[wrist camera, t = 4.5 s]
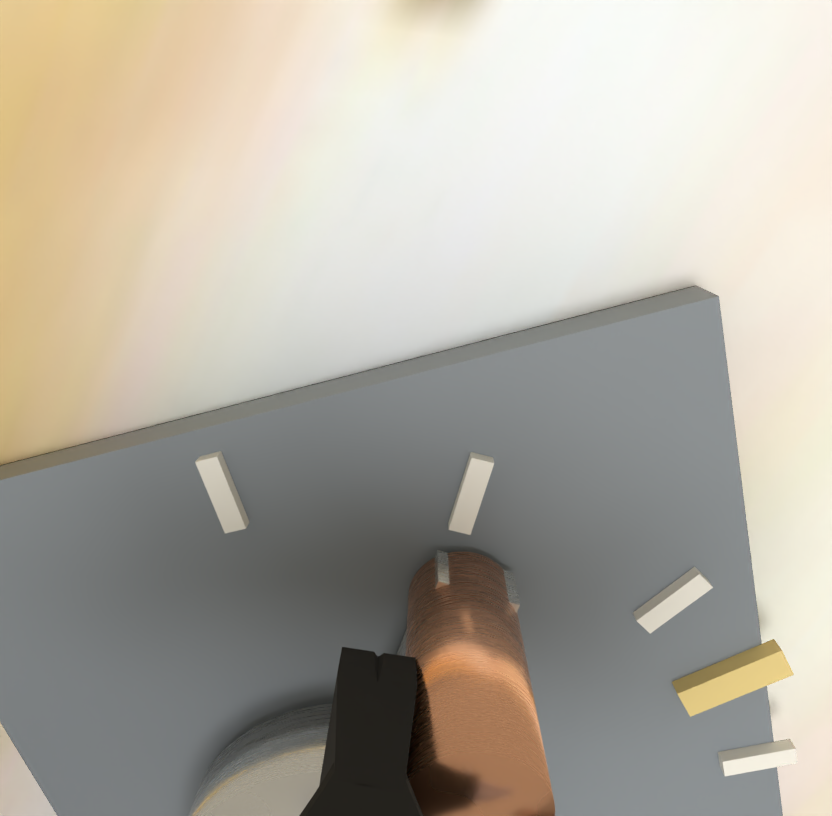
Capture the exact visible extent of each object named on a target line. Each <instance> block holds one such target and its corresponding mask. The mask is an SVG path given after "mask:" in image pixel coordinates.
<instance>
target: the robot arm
mask: <svg viewBox="0 0 832 816" xmlns="http://www.w3.org/2000/svg"><path fill="white" fill-rule="evenodd" d="M416 692H417V669H416V658H414V657H408V656H401V655H394V654H387V653H383V654H382V655H380V656H377V655H376V654H375V652H374V651H367V650H360V649H354V648H347V647H342V650H341V655H340V661H339V666H338V672H337V678H336V684H335V691H334V697H333V703H332V709H331V715H330V722H329V728H328V734H327V740H326V746H325V753H324V759H323V765H322V771H321V778H320V784H319V787H318V789H317V790H316V792H315V793H314V795H313V796H312V798H311V799H310V801H309V802H308V804H307V805H306V807H305V808H304V810H303V811H302V812H301V814H300V815H299V816H424V815H423V813H422V811H421V809H420V806H419V804H418V802H417V799H416V797H415V794H414V792H413V789H412V787H411V784H410V781H409V779H408V776H407V764H408V756H409V748H410V740H411V732H412V724H413V716H414V708H415V700H416Z"/></svg>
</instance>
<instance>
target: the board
mask: <svg viewBox="0 0 832 816" xmlns="http://www.w3.org/2000/svg"><path fill="white" fill-rule="evenodd" d="M438 550H439V551H443V552H446V553H450V552H472V553H477V554H480V555H483V556H486V557H487V558H489V559H491V560H493V561H494V562H496V563H497V564H498V565H499V566H500V567H502V569H503V570H507V571H510V572H513V573H514V578H515V583H516V588H517V593H518V598H519V603H520V606H519V608H518V611H517V613H518V618H519V623H520V629H521V634H522V639H523V644H524V649H525V654H526V659H527V664H528V670H529V675H530V680H531V685H532V690H533V695H534V700H535V706H536V711H537V716H538V721H539V726H540V731H541V736H542V741H543V747H544V752H545V757H546V762H547V767H548V772H549V777H550V783H551V788H552V793H553V798H554V803H555V816H783V814H782V806H781V798H780V790H779V782H778V773H777V767H780V766H785V765H791V764H796V763H797V755H796V748H795V746H794V745H793V743H792V742H791V740H790V739H786V740H781V741H775V742H774V741H773V733H772V725H771V717H770V709H769V700H768V692H767V685H770V684H772V683H775V682H777V681H779V680H782V679H784V678H787V677H789V676H792V675H794V674H793V672H792V670H791V668H790V666H789V664H788V662H787V660H786V658H785V656H784V654H783V652H782V650H781V648H780V647H779V646H778V644H777V643H776V641H775V640H774V639H773V640H770V641H768V642H766V643H763V644H761V635H760V627H759V619H758V611H757V603H756V595H755V587H754V579H753V571H752V562H751V554H750V546H749V538H748V530H747V522H746V514H745V506H744V498H743V489H742V481H741V473H740V465H739V457H738V449H737V441H736V433H735V425H734V416H733V408H732V400H731V392H730V384H729V376H728V368H727V360H726V352H725V343H724V335H723V327H722V319H721V311H720V303H719V296H717V295H715V294H713V293H711V292H709V291H706V290H704V289H702V288H700V287H698V286H693V287H690V288H686V289H682V290H678V291H674V292H670V293H666V294H662V295H659V296H655V297H651V298H647V299H643V300H639V301H635V302H632V303H628V304H624V305H620V306H616V307H612V308H608V309H604V310H601V311H597V312H593V313H589V314H585V315H581V316H577V317H574V318H570V319H566V320H562V321H558V322H554V323H550V324H546V325H543V326H539V327H535V328H531V329H527V330H523V331H519V332H516V333H512V334H508V335H504V336H500V337H496V338H492V339H488V340H485V341H481V342H477V343H473V344H469V345H465V346H461V347H457V348H454V349H450V350H446V351H442V352H438V353H434V354H430V355H427V356H423V357H419V358H415V359H411V360H407V361H403V362H399V363H396V364H392V365H388V366H384V367H380V368H376V369H372V370H369V371H365V372H361V373H357V374H353V375H349V376H345V377H341V378H338V379H334V380H330V381H326V382H322V383H318V384H314V385H311V386H307V387H303V388H299V389H295V390H291V391H287V392H283V393H280V394H276V395H272V396H268V397H264V398H260V399H256V400H253V401H249V402H245V403H241V404H237V405H233V406H229V407H225V408H222V409H218V410H214V411H210V412H206V413H202V414H198V415H194V416H191V417H187V418H183V419H179V420H175V421H171V422H167V423H164V424H160V425H156V426H152V427H148V428H144V429H140V430H136V431H133V432H129V433H125V434H121V435H117V436H113V437H109V438H106V439H102V440H98V441H94V442H90V443H86V444H82V445H78V446H75V447H71V448H67V449H63V450H59V451H55V452H51V453H48V454H44V455H40V456H36V457H32V458H28V459H24V460H20V461H17V462H13V463H9V464H5V465H1V466H0V722H1V724H2V725H3V727H4V729H5V730H6V732H7V734H8V735H9V737H10V739H11V740H12V742H13V744H14V745H15V747H16V748H17V750H18V752H19V753H20V755H21V757H22V758H23V760H24V762H25V763H26V765H27V766H28V768H29V770H30V771H31V773H32V775H33V776H34V778H35V780H36V781H37V783H38V784H39V786H40V788H41V789H42V791H43V793H44V794H45V796H46V798H47V799H48V801H49V803H50V804H51V806H52V807H53V809H54V811H55V812H56V814H57V816H188V815H189V812H190V810H191V807H192V804H193V802H194V799H195V796H196V794H197V791H198V788H199V786H200V783H201V781H202V778H203V777H204V775H205V773H206V772H207V770H208V768H209V767H210V765H211V763H212V762H213V761H214V760H215V759H216V758H217V756H218V755H219V754H220V753H221V752H222V751H223V749H224V748H226V747H227V746H228V745H229V744H230V743H232V742H233V741H234V740H235V739H236V738H237V737H239V736H240V735H242V734H243V733H245V732H246V731H248V730H250V729H251V728H253V727H254V726H256V725H258V724H260V723H262V722H264V721H267V720H269V719H271V718H273V717H275V716H278V715H281V714H284V713H287V712H290V711H293V710H297V709H301V708H306V707H311V706H316V705H323V704H332V703H333V697H334V691H335V684H336V678H337V672H338V666H339V661H340V655H341V650H342V647H347V648H354V649H360V650H367V651H374V652H375V654H376V655H377V656H380V655H382V654H383V653H387V654H394V655H397V652H398V650H399V647H400V644H401V642H402V639H403V637H404V634H405V632H406V629H407V614H408V594H409V587H410V584H411V581H412V579H413V577H414V576H415V574H416V573H417V571H418V570H419V569H420V568H421V567H422V566H423V565H424V564H425V563H427V562H428V561H430V560H431V559H433V558H435V556H436V553H437V551H438Z"/></svg>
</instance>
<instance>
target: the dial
mask: <svg viewBox="0 0 832 816" xmlns="http://www.w3.org/2000/svg"><path fill="white" fill-rule="evenodd" d="M519 606H520V603H519V598H518V593H517V588H516V583H515V578H514V573H513V572H510V571H507V570H503V569H502V567H500V566H499V565H498V564H497V563H496V562H494V561H493V560H491V559H489V558H487V557H486V556H483V555H480V554H477V553H472V552H450V553H446V552H443V551H439V550H438V551H437V553H436V556H435V558H433V559H431V560H430V561H428V562H427V563H425V564H424V565H423V566H422V567H421V568H420V569H419V570H418V571H417V573H416V574H415V576H414V577H413V579H412V581H411V584H410V587H409V594H408V614H407V629H406V632H405V634H404V637H403V639H402V642H401V644H400V647H399V650H398V652H397V655H401V656H408V657H414V658H416V669H417V692H416V700H415V708H414V716H413V724H412V732H411V740H410V748H409V756H408V764H407V776H408V779H409V781H410V784H411V787H412V789H413V792H414V794H415V797H416V799H417V802H418V804H419V806H420V809H421V811H422V813H423V815H424V816H555V803H554V798H553V793H552V788H551V783H550V777H549V772H548V767H547V762H546V757H545V752H544V747H543V741H542V736H541V731H540V726H539V721H538V716H537V711H536V706H535V700H534V695H533V690H532V685H531V680H530V675H529V670H528V664H527V659H526V654H525V649H524V644H523V639H522V634H521V629H520V623H519V618H518V613H517V611H518V608H519ZM331 709H332V704H323V705H316V706H311V707H306V708H301V709H297V710H293V711H290V712H287V713H284V714H281V715H278V716H275V717H273V718H271V719H269V720H267V721H264V722H262V723H260V724H258V725H256V726H254V727H253V728H251V729H250V730H248V731H246V732H245V733H243V734H242V735H240V736H239V737H237V738H236V739H235V740H234V741H233V742H232V743H230V744H229V745H228V746H227V747H226V748H224V749H223V751H222V752H221V753H220V754H219V755H218V756H217V758H216V759H215V760H214V761H213V762H212V763H211V765H210V767H209V768H208V770H207V772H206V773H205V775H204V777H203V778H202V781H201V783H200V786H199V788H198V791H197V794H196V796H195V799H194V802H193V804H192V807H191V810H190V812H189V815H188V816H299V815H300V814H301V812H302V811H303V810H304V808H305V807H306V805H307V804H308V802H309V801H310V799H311V798H312V796H313V795H314V793H315V792H316V790H317V789H318V787H319V784H320V778H321V771H322V765H323V759H324V753H325V746H326V740H327V734H328V728H329V722H330V715H331Z"/></svg>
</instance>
